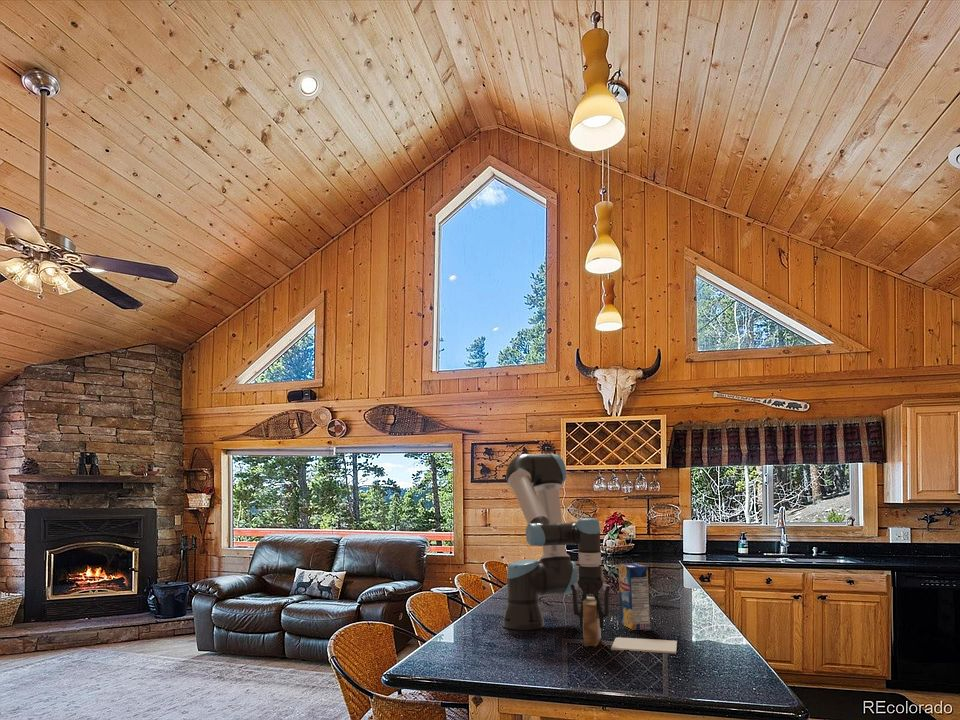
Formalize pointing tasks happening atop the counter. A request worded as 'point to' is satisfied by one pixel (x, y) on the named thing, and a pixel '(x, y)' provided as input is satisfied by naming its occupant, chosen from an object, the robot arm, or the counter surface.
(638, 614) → the beverage box
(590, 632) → the beige rectangular box
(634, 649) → the felt mat
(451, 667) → the counter surface
